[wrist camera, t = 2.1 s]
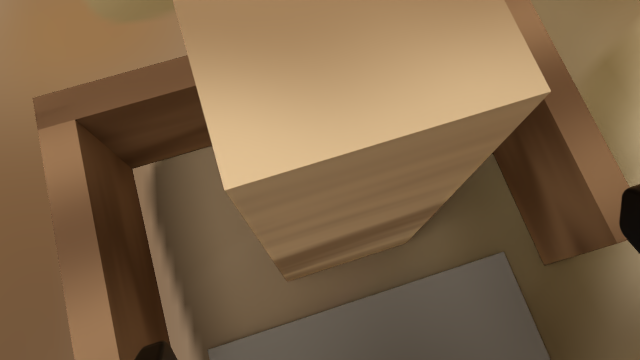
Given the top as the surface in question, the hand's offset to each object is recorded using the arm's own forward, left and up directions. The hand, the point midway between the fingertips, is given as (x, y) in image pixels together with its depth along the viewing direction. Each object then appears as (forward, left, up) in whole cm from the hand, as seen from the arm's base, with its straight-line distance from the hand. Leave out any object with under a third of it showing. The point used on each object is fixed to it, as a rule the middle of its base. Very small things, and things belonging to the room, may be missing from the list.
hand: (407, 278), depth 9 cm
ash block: (+4, +2, -10) cm, 11 cm away
